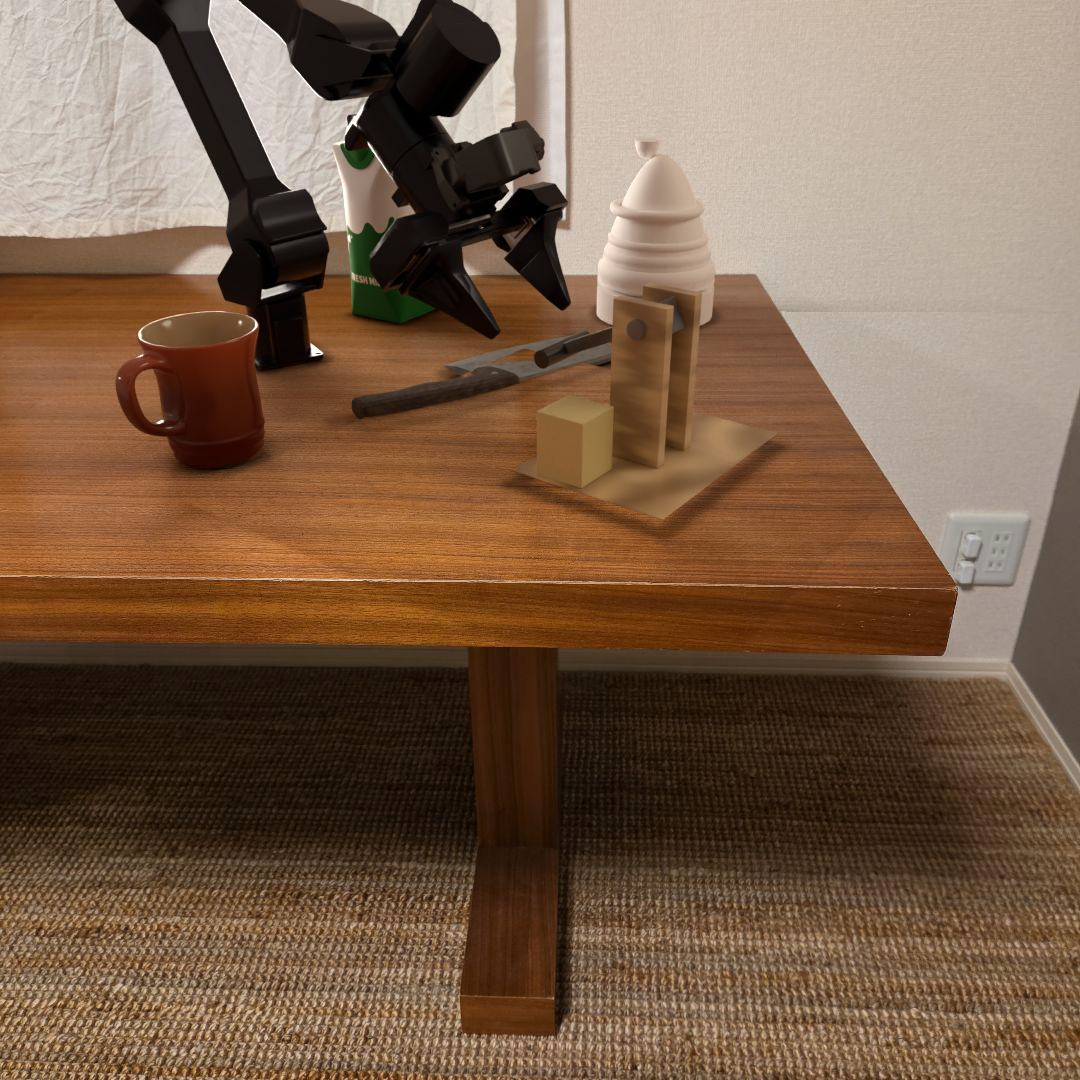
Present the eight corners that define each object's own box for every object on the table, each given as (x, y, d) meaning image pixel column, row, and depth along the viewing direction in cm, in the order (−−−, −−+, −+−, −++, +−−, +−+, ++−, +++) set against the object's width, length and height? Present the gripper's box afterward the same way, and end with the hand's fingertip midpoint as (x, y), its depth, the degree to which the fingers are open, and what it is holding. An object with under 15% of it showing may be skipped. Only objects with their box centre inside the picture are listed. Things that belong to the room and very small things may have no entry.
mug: (223, 424, 85) (203, 304, 80) (300, 446, 81) (283, 322, 76) (103, 477, 77) (72, 347, 72) (182, 505, 73) (155, 369, 67)
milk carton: (340, 315, 112) (320, 122, 102) (392, 295, 119) (378, 112, 109) (401, 328, 108) (387, 128, 98) (452, 307, 115) (443, 118, 105)
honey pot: (572, 315, 112) (574, 143, 103) (640, 290, 120) (647, 129, 111) (668, 339, 105) (680, 156, 96) (733, 311, 113) (749, 140, 104)
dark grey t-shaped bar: (539, 376, 77) (528, 346, 77) (583, 355, 82) (574, 327, 81) (656, 342, 70) (645, 308, 69) (698, 321, 74) (688, 289, 73)
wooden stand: (511, 484, 75) (507, 309, 69) (638, 410, 88) (646, 256, 81) (661, 534, 69) (673, 346, 62) (776, 446, 81) (796, 282, 75)
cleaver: (382, 438, 82) (380, 413, 81) (320, 404, 89) (318, 381, 88) (632, 360, 100) (634, 340, 98) (565, 337, 106) (566, 317, 105)
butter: (536, 474, 74) (536, 410, 72) (567, 455, 77) (568, 394, 74) (581, 488, 72) (582, 424, 69) (611, 469, 75) (614, 406, 72)
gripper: (385, 96, 67) (517, 288, 67) (550, 75, 80) (661, 236, 80) (317, 203, 75) (434, 375, 75) (477, 168, 88) (577, 314, 88)
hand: (533, 321), depth 79 cm, fingers open, 9 cm apart
